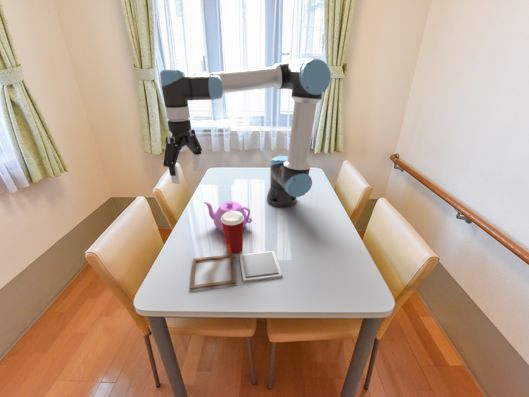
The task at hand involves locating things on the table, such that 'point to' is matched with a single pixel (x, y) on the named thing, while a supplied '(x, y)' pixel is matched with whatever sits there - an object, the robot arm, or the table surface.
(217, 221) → the teapot
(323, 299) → the table surface
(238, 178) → the table surface
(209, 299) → the table surface
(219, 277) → the wooden picture frame
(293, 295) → the table surface
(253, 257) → the ink pad
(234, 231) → the coffee cup
